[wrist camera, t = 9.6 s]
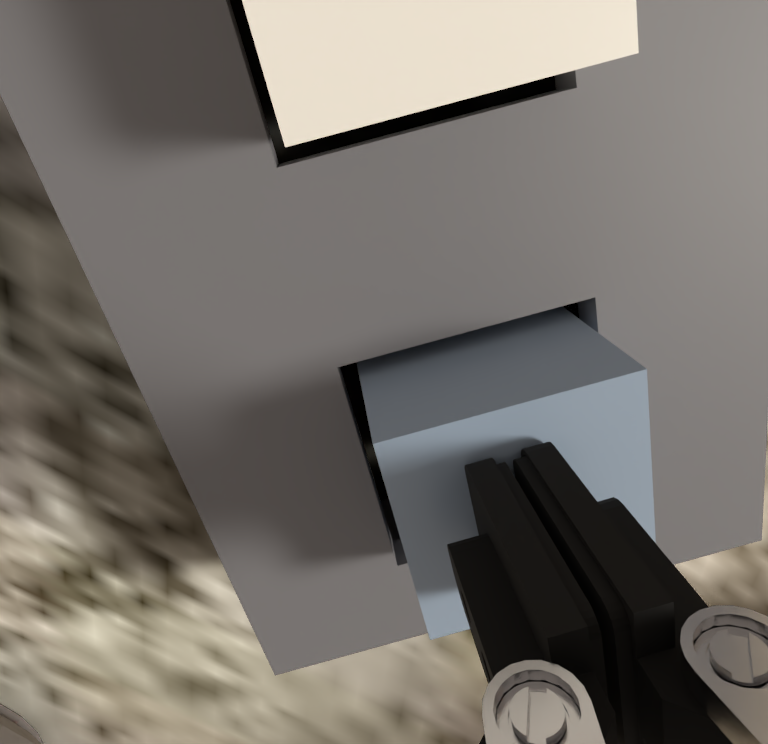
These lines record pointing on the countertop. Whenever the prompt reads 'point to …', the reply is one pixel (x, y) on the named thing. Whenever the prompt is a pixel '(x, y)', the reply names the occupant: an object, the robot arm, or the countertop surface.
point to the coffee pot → (16, 729)
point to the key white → (420, 53)
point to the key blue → (500, 431)
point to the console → (401, 273)
